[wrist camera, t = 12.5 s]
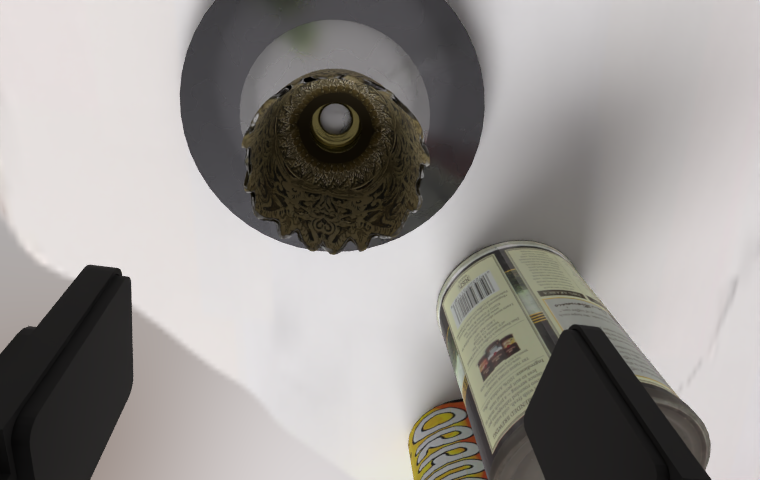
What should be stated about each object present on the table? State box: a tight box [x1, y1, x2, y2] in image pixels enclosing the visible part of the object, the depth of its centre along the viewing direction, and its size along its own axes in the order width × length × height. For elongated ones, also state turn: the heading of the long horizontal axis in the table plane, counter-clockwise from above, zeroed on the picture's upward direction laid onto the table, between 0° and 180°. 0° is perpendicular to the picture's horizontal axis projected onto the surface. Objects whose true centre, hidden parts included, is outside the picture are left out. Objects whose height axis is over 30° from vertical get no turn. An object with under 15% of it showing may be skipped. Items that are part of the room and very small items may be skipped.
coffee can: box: [437, 241, 711, 480], centre depth 30 cm, size 10×10×14 cm
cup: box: [242, 69, 430, 255], centre depth 24 cm, size 8×7×8 cm
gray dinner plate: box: [180, 0, 484, 251], centre depth 28 cm, size 16×16×2 cm
